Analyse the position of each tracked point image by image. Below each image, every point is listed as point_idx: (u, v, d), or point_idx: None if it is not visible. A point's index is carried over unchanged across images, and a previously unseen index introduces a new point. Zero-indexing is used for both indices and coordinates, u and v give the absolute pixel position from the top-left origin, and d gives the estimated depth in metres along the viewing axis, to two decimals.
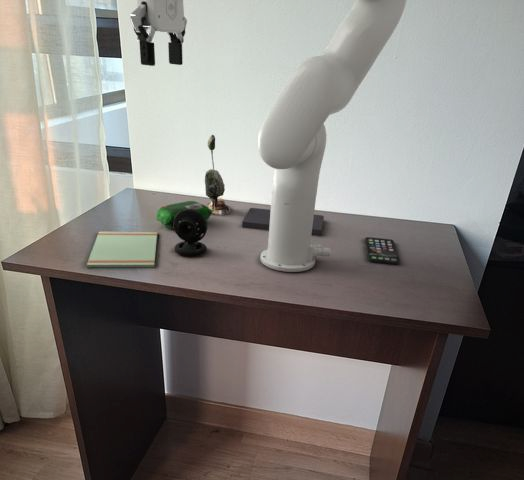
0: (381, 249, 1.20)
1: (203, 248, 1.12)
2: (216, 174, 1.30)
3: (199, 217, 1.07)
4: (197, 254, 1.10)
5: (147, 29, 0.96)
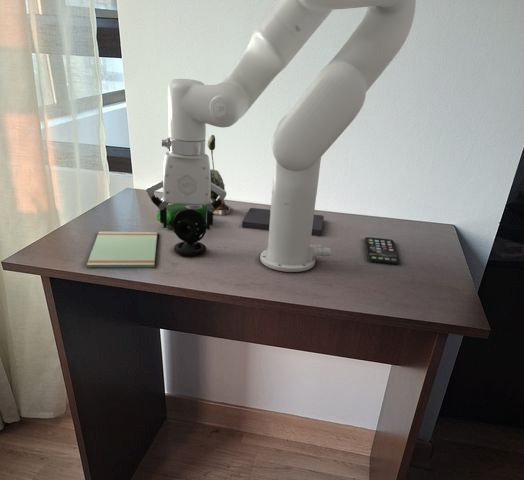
0: (381, 249, 1.20)
1: (202, 248, 1.12)
2: (216, 174, 1.30)
3: (198, 217, 1.07)
4: (196, 254, 1.10)
5: None
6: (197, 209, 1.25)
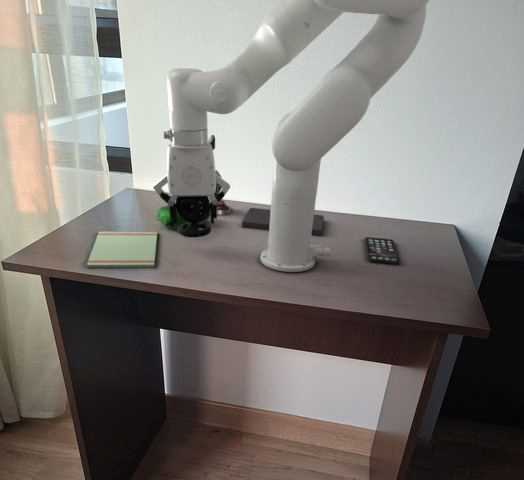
0: (381, 249, 1.20)
1: (207, 228, 1.09)
2: None
3: None
4: (201, 234, 1.07)
5: None
6: None
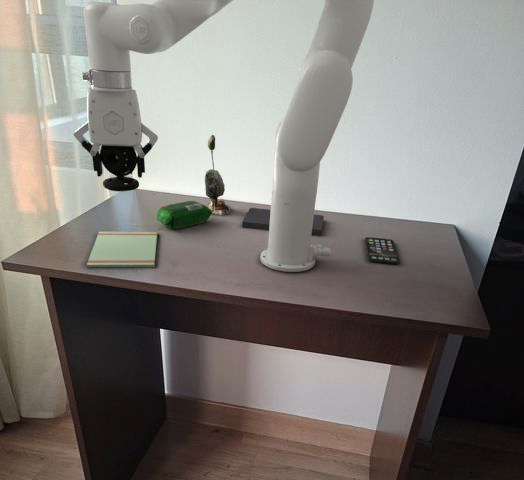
0: (381, 249, 1.20)
1: (134, 183, 1.02)
2: (216, 174, 1.30)
3: (126, 146, 0.98)
4: (126, 188, 1.01)
5: None
6: (197, 209, 1.25)
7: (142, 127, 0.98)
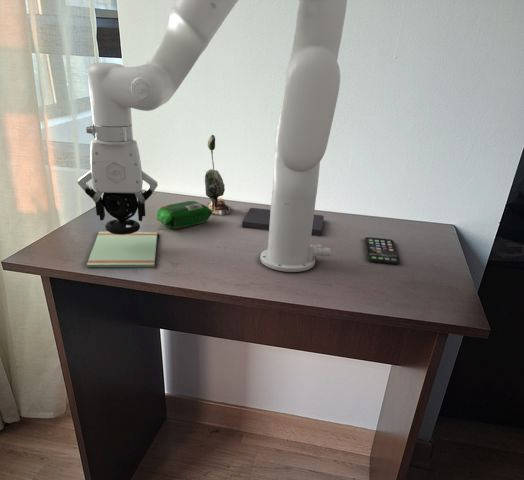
0: (381, 249, 1.20)
1: (135, 226, 1.08)
2: (216, 174, 1.30)
3: None
4: (128, 231, 1.06)
5: None
6: (197, 209, 1.25)
7: (143, 175, 1.03)
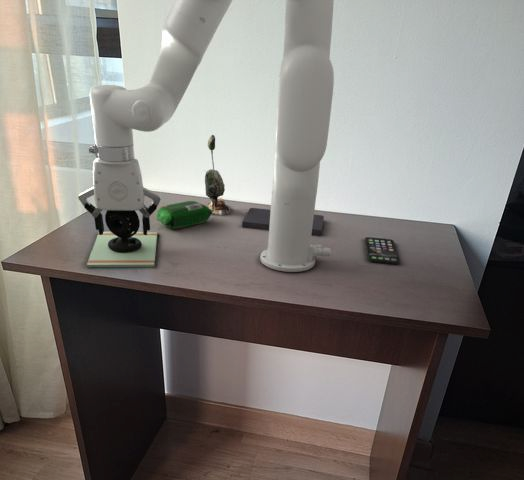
0: (381, 249, 1.20)
1: (137, 244, 1.10)
2: (216, 174, 1.30)
3: (130, 212, 1.05)
4: (130, 250, 1.08)
5: None
6: (197, 209, 1.25)
7: (144, 193, 1.05)
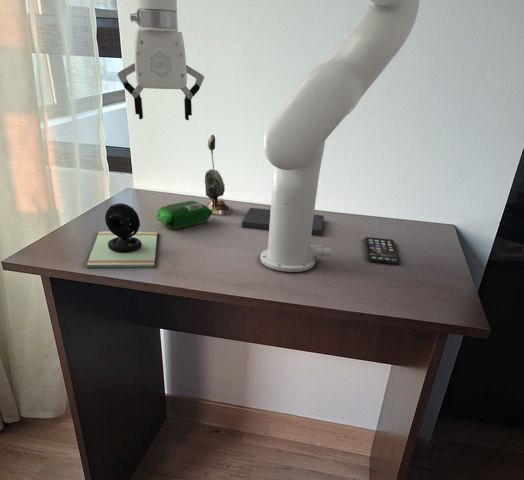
0: (381, 249, 1.20)
1: (137, 244, 1.10)
2: (216, 174, 1.30)
3: (130, 212, 1.05)
4: (130, 250, 1.08)
5: None
6: (197, 209, 1.25)
7: (187, 70, 0.99)
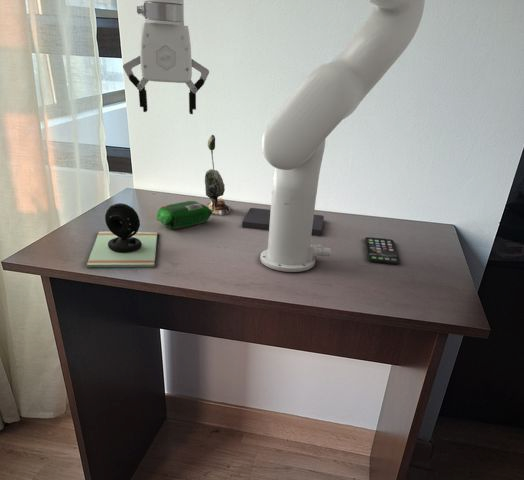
0: (381, 249, 1.20)
1: (137, 244, 1.10)
2: (216, 174, 1.30)
3: (130, 212, 1.05)
4: (130, 250, 1.08)
5: None
6: (197, 209, 1.25)
7: (192, 64, 0.99)
